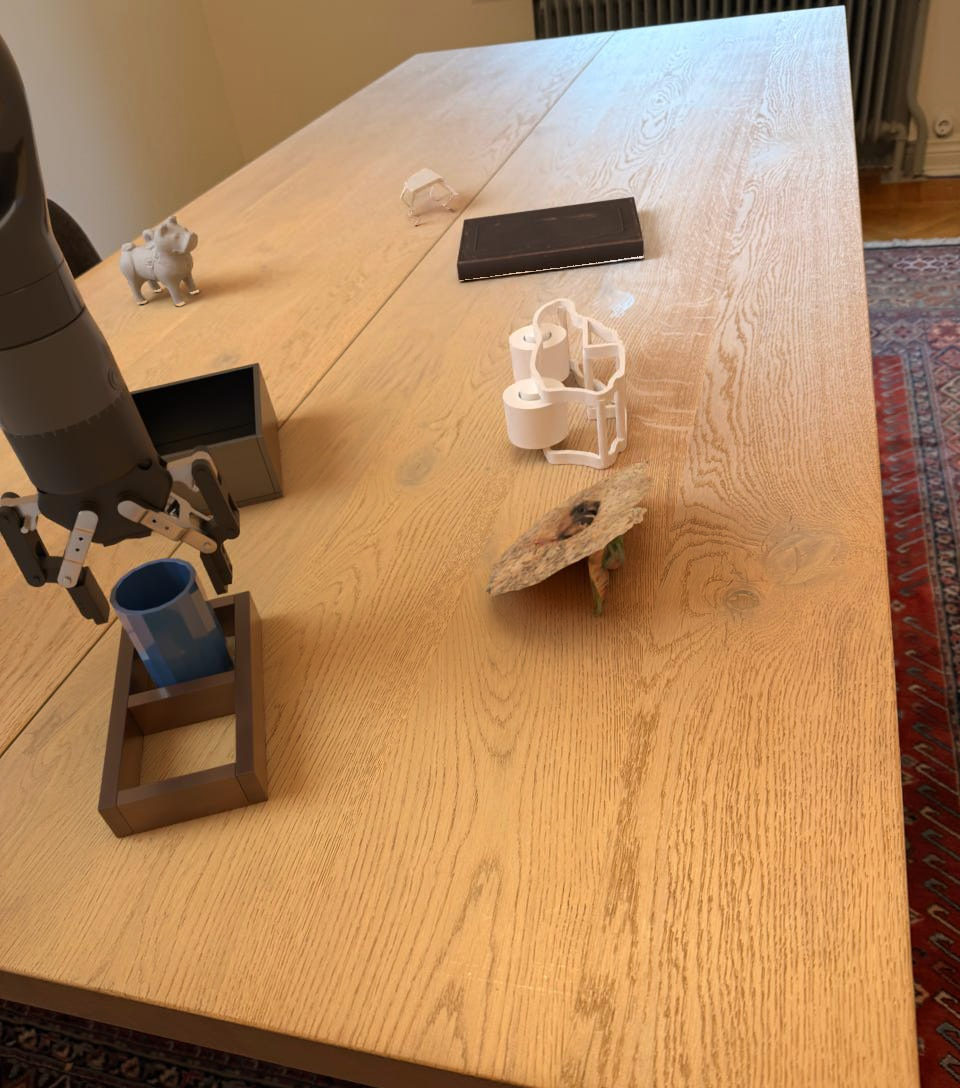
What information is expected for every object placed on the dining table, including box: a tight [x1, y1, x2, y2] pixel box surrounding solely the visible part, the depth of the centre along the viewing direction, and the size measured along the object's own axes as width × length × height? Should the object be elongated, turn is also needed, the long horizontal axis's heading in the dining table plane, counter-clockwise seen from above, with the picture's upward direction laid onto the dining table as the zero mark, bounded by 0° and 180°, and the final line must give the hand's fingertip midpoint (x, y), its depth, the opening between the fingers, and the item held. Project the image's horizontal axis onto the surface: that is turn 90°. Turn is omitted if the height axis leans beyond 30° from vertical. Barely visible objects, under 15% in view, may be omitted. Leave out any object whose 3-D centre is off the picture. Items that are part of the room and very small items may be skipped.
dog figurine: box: [118, 214, 199, 305], centre depth 125 cm, size 5×13×11 cm, turn 70°
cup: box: [108, 557, 235, 689], centre depth 68 cm, size 6×6×9 cm
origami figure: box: [399, 166, 459, 223], centre depth 138 cm, size 12×8×5 cm
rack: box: [97, 590, 269, 839], centre depth 67 cm, size 10×19×3 cm, turn 12°
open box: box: [129, 362, 284, 516], centre depth 91 cm, size 15×15×7 cm
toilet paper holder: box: [502, 297, 628, 470], centre depth 88 cm, size 20×11×7 cm, turn 176°
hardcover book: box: [456, 196, 645, 281], centre depth 121 cm, size 16×23×2 cm
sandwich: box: [485, 460, 655, 617], centre depth 71 cm, size 18×14×8 cm
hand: (163, 602), depth 66 cm, fingers open, 8 cm apart
